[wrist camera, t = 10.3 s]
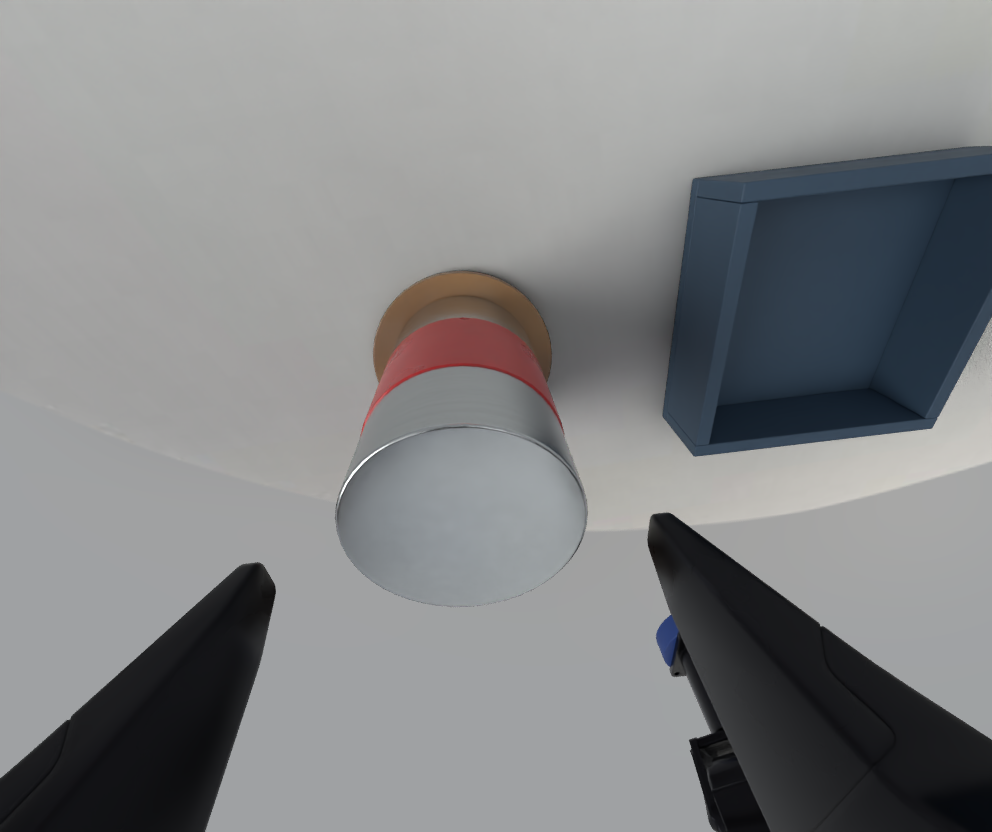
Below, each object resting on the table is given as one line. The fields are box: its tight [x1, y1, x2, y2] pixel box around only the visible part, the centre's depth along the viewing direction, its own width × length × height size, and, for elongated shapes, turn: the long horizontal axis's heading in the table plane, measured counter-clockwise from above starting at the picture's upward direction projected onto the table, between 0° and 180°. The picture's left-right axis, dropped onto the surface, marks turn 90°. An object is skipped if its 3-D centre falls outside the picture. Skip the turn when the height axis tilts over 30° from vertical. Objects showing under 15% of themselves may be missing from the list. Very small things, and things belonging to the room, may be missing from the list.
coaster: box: [373, 271, 552, 383], centre depth 19 cm, size 8×8×1 cm
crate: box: [663, 146, 992, 456], centre depth 17 cm, size 11×11×4 cm
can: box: [335, 296, 588, 607], centre depth 15 cm, size 6×6×10 cm
